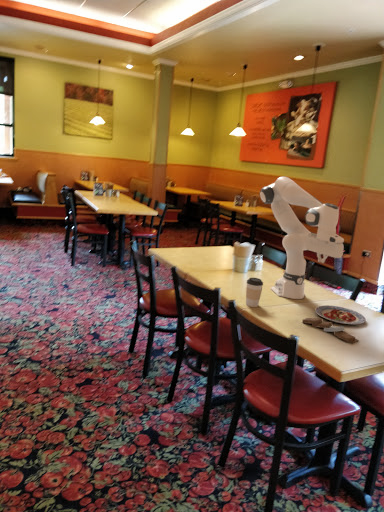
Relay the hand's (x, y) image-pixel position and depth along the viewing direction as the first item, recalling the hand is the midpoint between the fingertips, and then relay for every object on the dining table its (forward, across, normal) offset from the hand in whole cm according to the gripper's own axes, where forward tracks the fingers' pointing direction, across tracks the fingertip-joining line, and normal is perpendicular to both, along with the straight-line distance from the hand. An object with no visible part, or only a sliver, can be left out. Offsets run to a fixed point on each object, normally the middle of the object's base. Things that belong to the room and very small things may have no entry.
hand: (321, 262), depth 215 cm
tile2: (+29, +9, -10) cm, 32 cm away
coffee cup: (+30, -27, -17) cm, 44 cm away
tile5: (+29, +23, -11) cm, 39 cm away
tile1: (+29, +4, -11) cm, 31 cm away
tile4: (+28, +22, -11) cm, 37 cm away
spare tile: (+29, +16, -10) cm, 34 cm away
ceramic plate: (+30, +9, +12) cm, 34 cm away
